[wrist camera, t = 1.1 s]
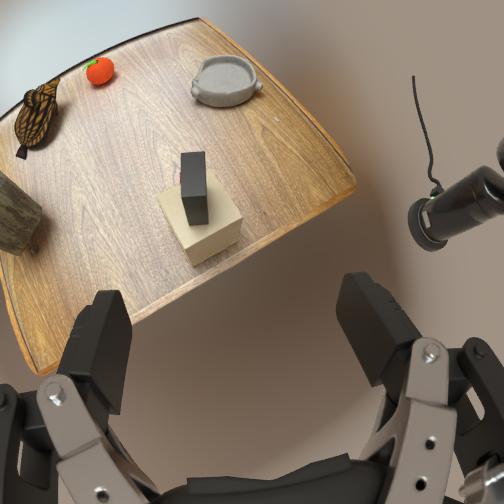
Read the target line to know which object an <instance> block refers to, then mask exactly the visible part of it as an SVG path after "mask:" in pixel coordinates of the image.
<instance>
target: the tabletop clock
mask: <svg viewBox="0 0 504 504" xmlns="http://www.w3.org/2000/svg"><path fill="white" fill-rule="evenodd" d="M41 212H42V207H41V206H40V205H39V204H38V203H36V202H35V201H34V200H33V199H32V198H31V197H30V196H28V195H27V194H26V193H25V192H24V191H23V190H22V189H20V188H19V187H18V186H17V185H16V184H15V183H14V182H12V181H11V180H10V179H9V178H8V177H7V176H6V175H4V174H3V173H2V172H1V171H0V249H1V250H3V251H6V252H9V253H11V254H14V255H17V256H21V254H22V252H23V250H24V248H25V246H26V245H27V244H28V245H29V246H30V247H31V248H30V252H31V254H36V253H37V251H38V249H37V247H36V246H34V245H32V244H31V242H30V237H31V236H32V234H33V232H34V230H35V229H36V227H37V225H38V223H39V222H40V220H41Z"/></svg>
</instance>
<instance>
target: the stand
mask: <svg viewBox="0 0 504 504" xmlns="http://www.w3.org/2000/svg"><path fill="white" fill-rule="evenodd" d="M206 181H207V199H208V216H209V224H206V225H193V226H189V224H188V221H187V217H186V214H185V210H184V207H183V203H182V199H181V185H180V183H179V184H177V185H175V186H173V187H172V188H170V189H168V190H166V191H164V192H162V193H160V194H159V195H157V196H156V199H157V201H158V203H159V205H160V207H161V209H162V211H163V214H164V216H165V218H166V220H167V222H168V224H169V226H170V228H171V230H172V231H173V233H174V235H175V237H176V239H177V240H178V242H179V244H180V246H181V248H182V249H183V251H184V253H185V255H186V257H187V258H188V260H189V262H190V264H191V265H192V267H194V266H196V265H198V264H199V263H201V262H203V261H205V260H206V259H208V258H210V257H212V256H213V255H215V254H217V253H219V252H220V251H222V250H224V249H225V248H227V247H229V246H231V245H232V244H234V243H236V242H237V240H238V235H239V231H240V227H241V223H242V219H243V216H242V215H241V213H240V211H239V210H238V208H237V207H236V205H235V204H234V202H233V201H232V199H231V198H230V196H229V194H228V193H227V191H226V190H225V188H224V187H223V185H222V184H221V182H220V181H219V179H218V178H217V176H216V174H215V173H214V171H213V170H212V168H209V169H207V170H206Z"/></svg>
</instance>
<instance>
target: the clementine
mask: <svg viewBox="0 0 504 504" xmlns="http://www.w3.org/2000/svg"><path fill="white" fill-rule="evenodd" d="M87 66H88V68H87V72H86V75H87V78H88V80H89V81H90V82H91V83H93V84H103V83H105V82H107V81H108V80H109V79H110V78H111V77H112V75H113V72H114V64H113V62H112V61H111V60H110V59H108V58H104V57H102V58H97V59H95V60H94V61H92V62H90V63H89V64H87V65H86V66H85V67H84V69H85V68H86V67H87ZM84 69H83V70H84Z"/></svg>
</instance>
